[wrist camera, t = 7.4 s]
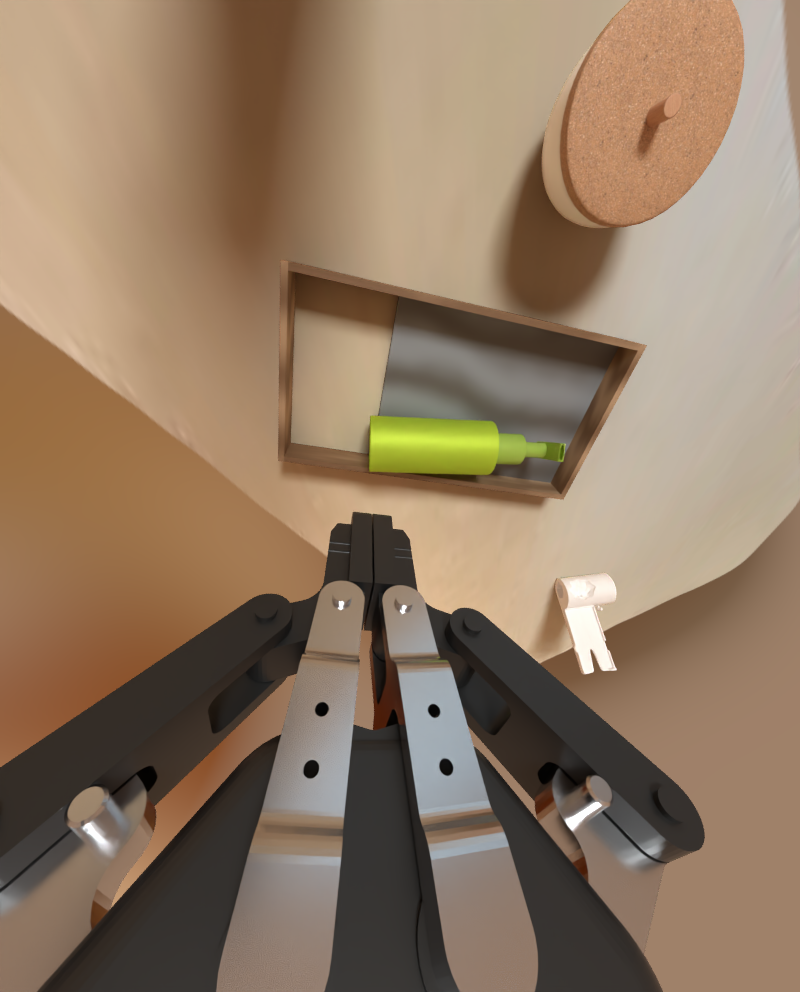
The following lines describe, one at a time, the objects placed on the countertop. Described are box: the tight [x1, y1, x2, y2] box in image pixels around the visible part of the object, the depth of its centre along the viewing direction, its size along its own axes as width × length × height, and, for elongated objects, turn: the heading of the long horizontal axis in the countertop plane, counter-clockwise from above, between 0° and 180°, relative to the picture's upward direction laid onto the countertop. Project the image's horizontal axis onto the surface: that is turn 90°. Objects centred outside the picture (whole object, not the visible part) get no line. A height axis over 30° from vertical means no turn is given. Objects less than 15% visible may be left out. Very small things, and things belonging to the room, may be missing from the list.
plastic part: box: [555, 573, 617, 674], centre depth 53 cm, size 8×10×12 cm
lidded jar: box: [542, 0, 744, 228], centre depth 24 cm, size 11×11×9 cm
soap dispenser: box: [369, 416, 566, 475], centre depth 37 cm, size 6×7×20 cm
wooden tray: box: [278, 260, 647, 499], centre depth 36 cm, size 18×34×4 cm, turn 79°
